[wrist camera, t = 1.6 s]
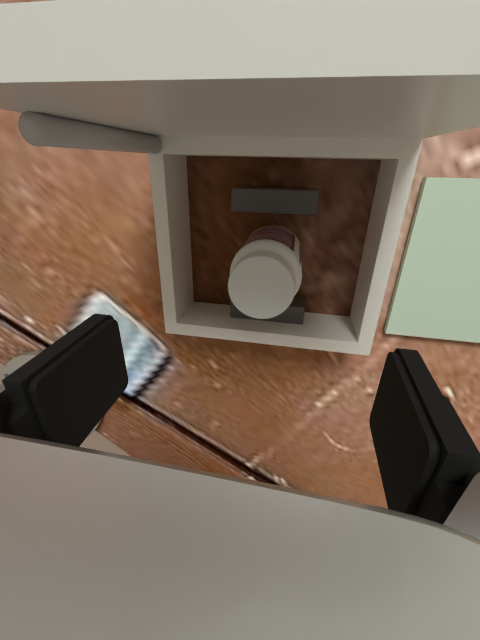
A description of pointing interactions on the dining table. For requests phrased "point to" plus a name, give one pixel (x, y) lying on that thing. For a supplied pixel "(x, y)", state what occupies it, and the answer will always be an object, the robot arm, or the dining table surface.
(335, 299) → the dining table surface
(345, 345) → the equipment case
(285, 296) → the pill bottle
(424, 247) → the mat
